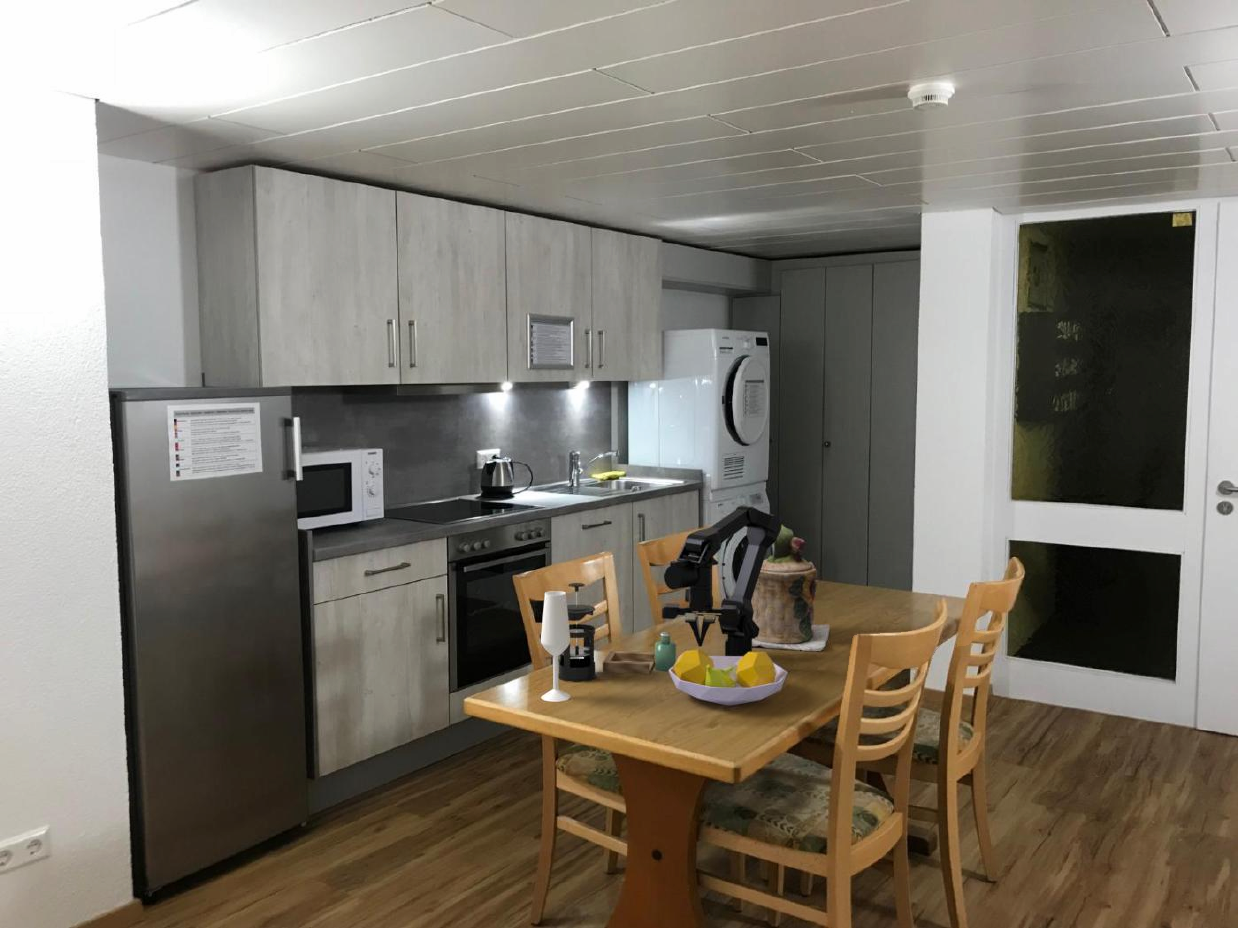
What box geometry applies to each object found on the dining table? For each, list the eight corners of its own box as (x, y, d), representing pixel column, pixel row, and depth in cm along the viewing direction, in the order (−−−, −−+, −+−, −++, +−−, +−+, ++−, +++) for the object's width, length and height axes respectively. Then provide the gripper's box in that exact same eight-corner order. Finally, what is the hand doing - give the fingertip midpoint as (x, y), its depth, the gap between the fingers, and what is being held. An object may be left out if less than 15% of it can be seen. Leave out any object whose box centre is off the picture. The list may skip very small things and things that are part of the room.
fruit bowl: (710, 672, 248) (710, 627, 247) (808, 694, 231) (808, 645, 230) (640, 700, 226) (640, 650, 226) (742, 725, 209) (742, 672, 208)
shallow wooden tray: (654, 661, 258) (654, 652, 258) (648, 673, 247) (648, 664, 247) (610, 660, 260) (610, 650, 259) (602, 671, 249) (602, 662, 249)
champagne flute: (537, 694, 231) (536, 591, 229) (565, 691, 233) (564, 589, 231) (546, 702, 224) (545, 597, 223) (574, 699, 227) (574, 594, 225)
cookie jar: (732, 647, 273) (733, 530, 271) (745, 626, 297) (746, 518, 294) (824, 653, 266) (826, 533, 264) (831, 631, 290) (832, 521, 288)
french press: (605, 674, 246) (605, 582, 245) (585, 684, 238) (584, 589, 237) (566, 668, 252) (565, 577, 251) (544, 677, 244) (543, 584, 243)
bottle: (676, 666, 254) (677, 631, 253) (674, 671, 249) (674, 636, 248) (656, 665, 255) (656, 630, 254) (653, 671, 250) (653, 635, 249)
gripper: (739, 579, 255) (739, 639, 256) (666, 577, 258) (666, 636, 259) (738, 587, 244) (737, 650, 246) (661, 585, 247) (661, 647, 248)
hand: (700, 646), depth 250 cm, fingers closed
